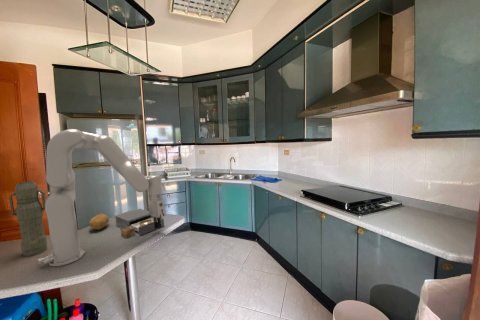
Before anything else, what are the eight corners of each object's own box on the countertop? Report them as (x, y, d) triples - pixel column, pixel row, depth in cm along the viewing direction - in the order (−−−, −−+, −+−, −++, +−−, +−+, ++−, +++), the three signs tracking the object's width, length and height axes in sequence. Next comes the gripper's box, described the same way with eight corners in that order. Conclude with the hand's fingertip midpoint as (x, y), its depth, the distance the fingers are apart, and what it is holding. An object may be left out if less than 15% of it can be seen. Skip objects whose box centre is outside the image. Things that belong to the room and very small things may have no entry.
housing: (128, 231, 121) (127, 221, 121) (116, 225, 131) (115, 215, 130) (153, 221, 134) (152, 212, 134) (140, 217, 144) (140, 208, 143)
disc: (145, 228, 120) (144, 225, 120) (137, 226, 123) (136, 223, 123) (154, 223, 126) (154, 220, 126) (147, 221, 129) (146, 219, 129)
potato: (85, 234, 119) (84, 221, 118) (94, 225, 132) (93, 213, 131) (105, 231, 122) (103, 218, 121) (111, 223, 135) (110, 211, 134)
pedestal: (126, 238, 112) (125, 231, 112) (121, 236, 115) (121, 229, 115) (135, 234, 116) (134, 228, 116) (130, 232, 119) (130, 226, 119)
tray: (140, 235, 114) (139, 227, 114) (126, 229, 124) (125, 221, 123) (164, 225, 126) (164, 218, 126) (149, 220, 136) (149, 213, 136)
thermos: (51, 250, 102) (42, 181, 99) (17, 260, 94) (5, 185, 91) (51, 243, 109) (42, 179, 105) (19, 252, 101) (8, 183, 97)
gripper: (169, 196, 114) (171, 228, 116) (154, 193, 123) (156, 222, 125) (156, 200, 108) (159, 233, 110) (141, 196, 117) (144, 227, 118)
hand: (157, 227), depth 117 cm, fingers closed
